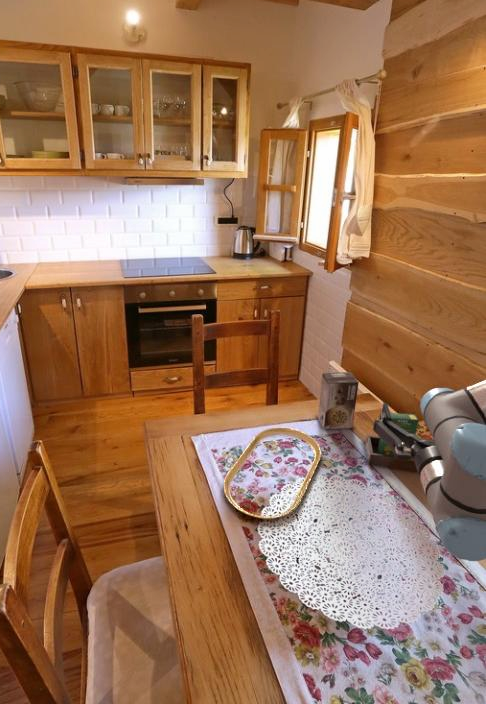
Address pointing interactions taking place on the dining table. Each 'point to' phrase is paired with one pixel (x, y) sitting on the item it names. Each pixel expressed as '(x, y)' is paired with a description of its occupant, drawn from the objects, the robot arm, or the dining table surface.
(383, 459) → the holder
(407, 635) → the dining table surface
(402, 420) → the coffee box
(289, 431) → the oval frame
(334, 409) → the coffee box
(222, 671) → the dining table surface
